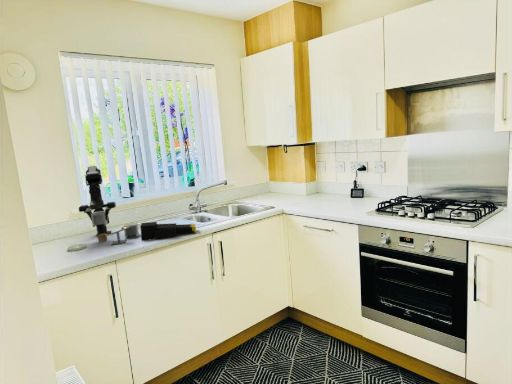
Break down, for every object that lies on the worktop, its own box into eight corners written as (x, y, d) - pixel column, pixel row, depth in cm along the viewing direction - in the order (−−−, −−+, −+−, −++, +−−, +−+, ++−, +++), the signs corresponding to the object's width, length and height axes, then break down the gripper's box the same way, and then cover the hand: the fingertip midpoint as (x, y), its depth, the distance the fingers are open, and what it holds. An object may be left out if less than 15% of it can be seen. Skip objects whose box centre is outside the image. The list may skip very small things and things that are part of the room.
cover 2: (126, 235, 216) (124, 223, 215) (138, 234, 217) (137, 222, 216) (125, 238, 209) (123, 226, 208) (138, 237, 211) (136, 224, 210)
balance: (107, 243, 202) (105, 229, 201) (131, 240, 205) (129, 225, 204) (106, 246, 198) (103, 231, 196) (131, 242, 201) (129, 227, 199)
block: (99, 240, 210) (98, 234, 210) (107, 239, 211) (106, 233, 211) (98, 242, 206) (97, 235, 206) (106, 241, 207) (105, 234, 207)
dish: (69, 247, 201) (69, 245, 201) (87, 245, 203) (87, 243, 203) (65, 252, 192) (65, 250, 192) (83, 249, 194) (83, 247, 194)
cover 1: (95, 224, 210) (93, 212, 208) (107, 223, 211) (105, 210, 210) (92, 227, 203) (90, 214, 202) (106, 225, 205) (104, 212, 204)
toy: (195, 225, 203) (139, 227, 197) (195, 240, 204) (140, 242, 198) (194, 219, 218) (142, 221, 212) (195, 233, 219) (143, 235, 214)
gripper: (74, 198, 195) (79, 227, 197) (111, 194, 199) (115, 222, 201) (79, 195, 205) (83, 222, 208) (114, 191, 210) (117, 218, 212)
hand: (99, 221), depth 207 cm, fingers closed on cover 1, 7 cm apart
